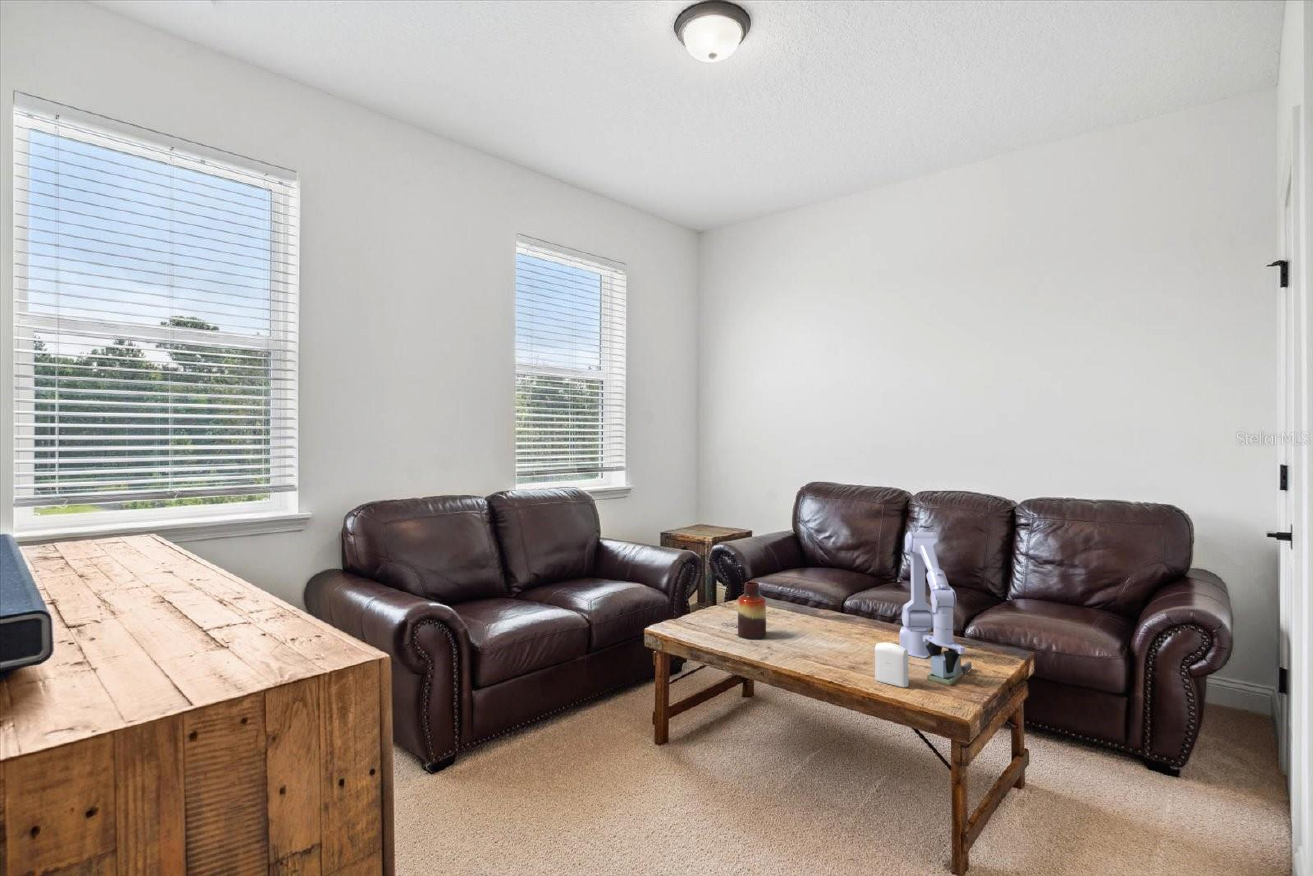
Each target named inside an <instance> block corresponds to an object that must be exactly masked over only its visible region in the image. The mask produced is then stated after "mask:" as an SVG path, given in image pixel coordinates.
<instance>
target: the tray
mask: <svg viewBox="0 0 1313 876" xmlns="http://www.w3.org/2000/svg"><path fill="white" fill-rule="evenodd" d="M962 676H963V674H962V671H961V673H958V674H956V675H955V676H951V677H947V678H941V677H939V676H936V675H934V674H931V672H930V673H928V674H927V676H926V681H929V682H933V683H936V682H938V683H937V684H941V685H945V686H950V687H951V686H952V685H953V684H954V683H956V682H957V681H958V680H959V679H961V677H962ZM958 678H959V679H958ZM957 679H958V680H957ZM956 680H957V681H956ZM953 682H954V683H953Z"/></svg>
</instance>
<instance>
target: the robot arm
mask: <svg viewBox="0 0 1313 876" xmlns="http://www.w3.org/2000/svg"><path fill="white" fill-rule="evenodd" d="M939 543H940V542H939V536H938V534H937V533H936V532H935V531H931V532H929V531H928V532H923V531H922V532H921V531H919V532H918V531H917V532H916V531H915V532H913V531H907V533H906V534H905V537H904V550H905V553H906V554H908V555H909V557H910V558H909V559H910V600H909V601H908V602H906V603H904V604H903V605H902V612H901V621H902V626H901V628H900V631H899V634H898V635H899V639H898V640H899V644H898V645H899V646H902V647H904V648H905V649H907V651H908V656H911V657H917V658H919V659H920V658H921V659H927V658H929V657H931V656H936V655H940V654H944V656H945V660H946V670H947V673H953V670H954V666H955V663H956V661H957V659H958V657H961V655H964V654H966V646H963V645H961V644H959V643H957V642H955V640H954V609H955V608H956V606H957V595H956V592H955V590H954V589H953V588H952V586H950V585H949V582H948V580H947V575H946V574H945V571H944V570H942V569H940V564H939V562H938V561H939V559H938V557H937V551H938V548H939V545H940V544H939ZM926 569H927V571H928V572H927V573H926ZM926 579H927V582H928V585H929V586H928V587H929V589H930V597H929V598H930V603H931V605H930V604H929V603H928V602H926ZM932 629H933V635H930V632H931V630H932ZM943 649H946V650H943ZM942 650H943V651H942ZM942 652H943V653H942Z"/></svg>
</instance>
